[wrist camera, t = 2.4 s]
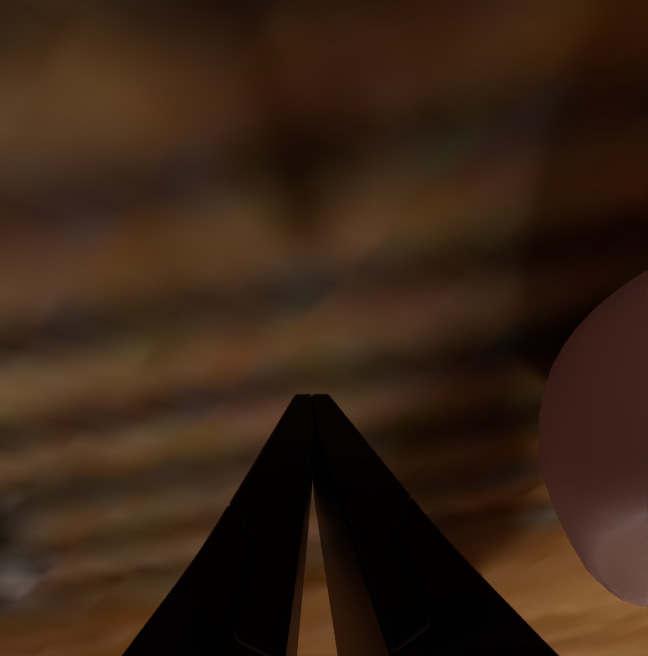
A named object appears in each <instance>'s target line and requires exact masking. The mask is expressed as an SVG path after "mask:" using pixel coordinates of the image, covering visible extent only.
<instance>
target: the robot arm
mask: <svg viewBox="0 0 648 656" xmlns="http://www.w3.org/2000/svg"><path fill="white" fill-rule="evenodd" d="M312 481H313V492H314V500H315V507H316V513H317V520H318V527H319V533H320V540H321V547H322V553H323V560H324V567H325V574H326V580H327V587H328V594H329V600H330V607H331V614H332V621H333V627H334V634H335V641H336V647H337V654H338V656H559V655H558V654H557V653H556V652H555V651H554V650H553V649H552V648H551V647H550V646H549V645H548V644H547V643H546V642H545V641H544V640H543V639H542V638H541V637H540V636H539V635H538V634H537V633H536V632H535V631H534V630H533V629H532V628H531V627H530V626H529V625H528V624H527V622H526V621H525V620H524V619H523V618H522V617H521V616H520V615H519V614H518V613H517V612H516V611H515V610H514V609H513V608H512V607H511V606H510V605H509V604H508V603H507V602H506V601H505V600H504V599H503V598H502V597H501V596H500V595H499V594H498V593H497V592H496V591H495V589H494V588H493V587H492V586H491V585H490V584H489V583H488V582H487V581H486V580H485V579H484V578H483V577H482V576H481V575H480V574H479V573H478V572H477V571H476V570H475V569H474V568H473V567H472V566H471V565H470V564H469V563H468V561H467V560H466V559H465V558H464V557H463V556H462V555H461V554H460V553H459V552H458V551H457V550H456V549H455V548H454V546H453V545H452V544H451V543H450V542H449V541H448V540H447V539H446V538H445V537H444V535H443V534H442V533H441V532H440V531H439V530H438V528H437V527H436V526H435V525H434V524H433V522H432V521H431V520H430V519H429V518H428V517H427V515H426V514H425V513H424V512H423V511H422V509H421V508H420V507H419V506H418V504H417V503H416V502H415V501H414V499H412V498H411V499H410V495H409V493H408V492H407V491H406V490H405V488H404V487H403V486H402V485H401V483H400V482H399V481H398V480H397V478H396V477H395V476H394V475H393V473H392V472H391V471H390V470H389V468H388V467H387V466H386V465H385V464H384V462H383V461H382V460H381V459H380V457H379V456H378V455H377V454H376V452H375V451H374V450H373V449H372V447H371V446H370V445H369V444H368V442H367V441H366V440H365V439H364V437H363V436H362V435H361V434H360V433H359V431H358V430H357V429H356V428H355V426H354V425H353V424H352V423H351V421H350V420H349V419H348V418H347V416H346V415H345V414H344V413H343V411H342V410H341V409H340V408H339V406H338V405H337V404H336V403H335V402H334V400H333V399H332V398H331V397H330V395H328V394H314V395H313V396H311V395H310V394H296V395H295V396H294V397H293V399H292V400H291V402H290V404H289V405H288V407H287V409H286V410H285V412H284V414H283V415H282V417H281V419H280V420H279V422H278V424H277V425H276V427H275V429H274V430H273V432H272V434H271V435H270V437H269V439H268V440H267V442H266V443H265V445H264V447H263V448H262V450H261V452H260V453H259V455H258V457H257V458H256V460H255V462H254V463H253V465H252V467H251V468H250V470H249V472H248V473H247V475H246V477H245V478H244V480H243V482H242V483H241V485H240V487H239V488H238V490H237V491H236V493H235V495H234V496H233V498H232V500H231V501H230V506H228V507H227V508H226V509H225V511H224V513H223V514H222V516H221V518H220V519H219V521H218V523H217V524H216V526H215V527H214V529H213V530H212V532H211V534H210V535H209V537H208V538H207V540H206V541H205V543H204V544H203V546H202V548H201V549H200V551H199V552H198V554H197V555H196V556H195V558H194V559H193V561H192V562H191V563H190V565H189V566H188V567H187V569H186V570H185V572H184V573H183V574H182V576H181V577H180V579H179V580H178V581H177V583H176V584H175V586H174V587H173V588H172V590H171V591H170V592H169V594H168V595H167V596H166V598H165V599H164V600H163V602H162V603H161V604H160V605H159V607H158V608H157V609H156V611H155V612H154V613H153V615H152V616H151V617H150V619H149V620H148V621H147V623H146V624H145V625H144V627H143V628H142V629H141V631H140V632H139V633H138V635H137V636H136V637H135V639H134V640H133V641H132V643H131V644H130V645H129V647H128V648H127V649H126V651H125V652H124V653H123V655H122V656H297V648H298V638H299V627H300V616H301V605H302V594H303V583H304V572H305V561H306V550H307V539H308V528H309V517H310V506H311V494H312Z"/></svg>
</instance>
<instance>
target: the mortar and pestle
mask: <svg viewBox="0 0 648 656" xmlns="http://www.w3.org/2000/svg"><path fill="white" fill-rule="evenodd" d="M538 432H539V451H540V457H541V464H542V470H543V474H544V477H545V481H546V485H547V489H548V492H549V495H550V497H551V500H552V503H553V506H554V509H555V511H556V513H557V516H558V518H559V520H560V523H561V525H562V527H563V529H564V531H565V533H566V535H567V537H568V539H569V541H570V543H571V544H572V546H573V548H574V549H575V551H576V553H577V554H578V556H579V557H580V559H581V561H582V562H583V564H584V566H585V567H586V569H587V570H588V571H589V573H590V574H591V575H592V576H593V577H594V578H595V579H596V580H597V581H598V582H599V583H601V584H602V585H603V586H604V587H605V588H606V589H607V590H608V591H609V592H611V593H612V594H614V595H615V596H617V597H618V598H620V599H621V600H623V601H626V602H629V603H632V604H636V605H640V606H644V605H647V606H648V270H647V271H645V272H643V273H642V274H640V275H638V276H637V277H635V278H633V279H632V280H631V281H629V282H628V283H626V284H625V285H624V286H622V287H621V288H619V289H618V290H617V291H615V292H614V293H613V294H611V295H610V296H609V297H608V298H607V299H605V300H604V301H603V302H602V303H601V304H600V305H598V306H597V307H596V308H595V309H594V310H593V311H592V312H591V313H590V314H589V315H588V316H587V317H586V318H585V319H584V320H583V321H582V322H581V324H580V325H579V326H578V327H577V328H576V329H575V330H574V332H573V333H572V334H571V336H570V337H569V338H568V340H567V341H566V342H565V344H564V345H563V347H562V349H561V351H560V353H559V354H558V356H557V358H556V360H555V361H554V363H553V365H552V368H551V370H550V373H549V376H548V379H547V381H546V384H545V387H544V391H543V395H542V399H541V405H540V413H539V423H538Z"/></svg>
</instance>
